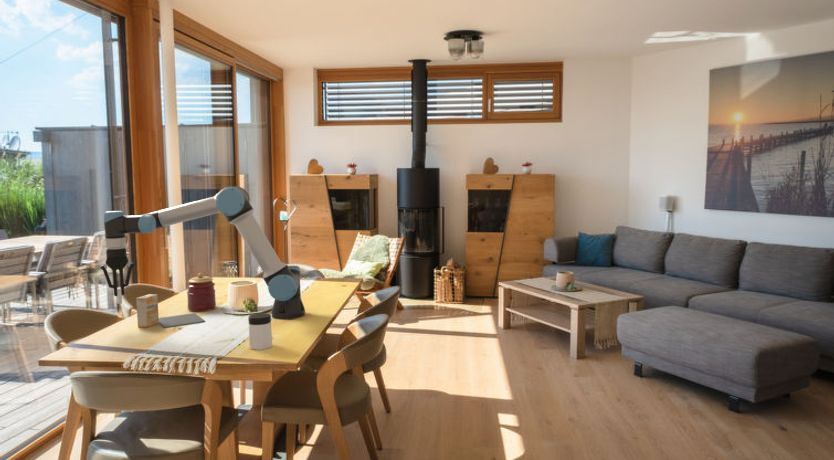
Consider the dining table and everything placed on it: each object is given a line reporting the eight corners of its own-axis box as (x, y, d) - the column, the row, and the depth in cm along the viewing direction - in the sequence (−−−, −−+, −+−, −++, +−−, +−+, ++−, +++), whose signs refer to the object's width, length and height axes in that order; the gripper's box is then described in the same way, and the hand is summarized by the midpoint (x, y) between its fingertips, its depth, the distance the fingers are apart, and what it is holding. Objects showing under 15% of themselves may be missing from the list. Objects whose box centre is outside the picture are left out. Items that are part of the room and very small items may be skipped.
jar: (264, 341, 227) (263, 311, 226) (277, 345, 222) (276, 314, 220) (244, 347, 220) (243, 316, 219) (257, 351, 215) (255, 319, 214)
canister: (214, 304, 292) (212, 269, 291) (217, 310, 281) (215, 273, 279) (186, 307, 287) (184, 272, 285) (188, 313, 275) (186, 276, 273)
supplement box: (147, 328, 249) (145, 298, 248) (137, 327, 250) (135, 297, 249) (159, 323, 258) (157, 294, 256) (149, 322, 258) (148, 293, 257)
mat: (205, 321, 259) (205, 320, 258) (164, 328, 249) (163, 326, 249) (194, 314, 273) (194, 312, 273) (155, 319, 264) (155, 318, 264)
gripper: (131, 245, 251) (135, 299, 254) (97, 248, 244) (101, 303, 246) (134, 247, 245) (138, 302, 247) (99, 250, 238) (103, 307, 240)
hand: (119, 303), depth 247 cm, fingers closed
